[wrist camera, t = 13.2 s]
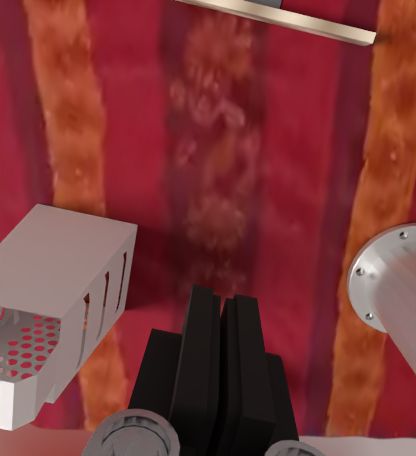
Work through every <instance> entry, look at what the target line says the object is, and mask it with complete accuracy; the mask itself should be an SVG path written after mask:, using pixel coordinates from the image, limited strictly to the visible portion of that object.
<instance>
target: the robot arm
mask: <svg viewBox="0 0 416 456" xmlns="http://www.w3.org/2000/svg"><path fill="white" fill-rule="evenodd" d="M401 232H402V234H400V233H401ZM359 268H360V269H359ZM357 269H359V270H357ZM213 292H214V289H211V288H206V287H201V286H197V285H193V286H192V290H191V294H190V299H189V303H188V307H187V311H186V316H185V320H184V324H183V329H182V333H181V334H176V333H171V332H167V331H162V330H157V329H153V328H152V331H151V334H150V337H149V340H148V343H147V347H146V350H145V353H144V357H143V360H142V363H141V366H140V370H139V373H138V376H137V380H136V383H135V386H134V389H133V393H132V396H131V399H130V403H129V406H128V409H126V410H122V411H119V412H116V413H113V414H112V415H110V416H109V417H107V418H106V419H104V420H103V421H102V422H101V424H100V425H99V426H98V427H97V429H96V430H95V431H94V433H93V435H92V437H91V439H90V440H89V442H88V444H87V445H86V447H85V449H84V450H83V452H82V454H81V456H326V455H325V454H323V453H321V452H320V451H319V450H318V449H316V448H315V447H312V446H310V445H308V444H306V443H304V442H299V437H298V432H297V428H296V423H295V418H294V414H293V409H292V404H291V400H290V395H289V390H288V386H287V381H286V376H285V372H284V367H283V362H282V359H281V357H280V356H279V355H275V354H271V353H266V352H265V347H264V340H263V334H262V328H261V321H260V315H259V309H258V302H257V299H256V298H252V297H247V296H243V295H238V294H235V296H234V298H233V299H230V298H226V300H225V303H224V307H223V311H222V314H221V318H220V302H221V297H220V296H217V295H213ZM347 293H348V297H349V300H350V302H351V304H352V307H353V308H354V310H355V311H356V313H357V315H358V316H359V317H360V318H361V319H362V320H363V321H364V322H365V323H366V324H368V325H369V326H371V327H372V328H374V329H377V330H379V331H381V332H384V333H388V334H389V335H390V337H391V338H392V340H393V341H394V343H395V344H396V346H397V347H398V349H399V350H400V352H401V353H402V355H403V356H404V358H405V359H406V361H407V362H408V364H409V365H410V367H411V368H412V370H413V371H414V373H415V374H416V223H408V224H402V225H398V226H395V227H392V228H389V229H387V230H385V231H383V232H381V233H379V234H378V235H376V236H375V237H373V238H372V239H371V240H369V241H368V242H367V243H366V244H365V245H364V246H363V247H362V248H361V249H360V250H359V252H358V253H357V255H356V256H355V258H354V259H353V261H352V264H351V266H350V268H349V272H348V276H347Z"/></svg>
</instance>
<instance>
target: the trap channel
mask: <svg viewBox="0 0 416 456" xmlns="http://www.w3.org/2000/svg"><path fill="white" fill-rule="evenodd" d="M177 1H181V2H185V3H189V4H193V5H197V6H202V7H206V8H210V9H214V10H218V11H222V12H226V13H230V14H234V15H239V16H243V17H247V18H251V19H255V20H259V21H263V22H267V23H271V24H276V25H280V26H284V27H288V28H292V29H296V30H300V31H304V32H308V33H313V34H317V35H321V36H325V37H329V38H333V39H337V40H341V41H345V42H350V43H354V44H358V45H362V46H367V45H370V44H373V41H374V38H375V35H376V33H375V32H370V31H366V30H362V29H358V28H354V27H350V26H346V25H342V24H338V23H334V22H330V21H326V20H321V19H317V18H313V17H309V16H305V15H301V14H297V13H293V12H289V11H285V10H281V9H280V5H281V1H282V0H177Z"/></svg>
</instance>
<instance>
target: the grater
mask: <svg viewBox="0 0 416 456" xmlns="http://www.w3.org/2000/svg"><path fill="white" fill-rule="evenodd" d="M137 226H138V225H136V224H131V223H127V222H122V221H117V220H112V219H108V218H103V217H98V216H94V215H89V214H84V213H79V212H75V211H70V210H65V209H60V208H56V207H51V206H46V205H41V204H36V206H35V207H34V208H33V209H32V210H31V211H30V212H29V213H28V214H27V215H26V216H25V217H24V218H23V220H22V221H21V222H20V223H19V224H18V225H17V226H16V227H15V228H14V229H13V230H12V231H11V233H10V234H9V235H8V236H7V237H6V238H5V239H4V240H3V241H2V242H1V243H0V317H1V314H2V310H3V307H5V313H4V317H3V318H2V319H1V321H0V356H1V357H3V358H4V360H3V361H2V362H0V367H1V368H3V372H2V373H0V428H1V429H6V430H11V431H12V430H14V429H16V428H18V427H21V426H23V425H25V424H27V423H29V422H31V421H33V420H34V419H35V418H36V416H37V414H38V412H39V411H40V409H41V407H42V406H43V404H44V402H48V403H54V402H55V401H56V399H57V398H58V397H59V395H60V394H61V393H62V391H63V390H64V389H65V387H66V386H67V385H68V384H69V382H70V381H71V380H72V378H73V377H74V376H75V374H76V373H77V372H78V370H79V369H80V368H81V367H82V365H83V364H84V363H85V361H86V360H87V359H88V357H89V356H90V355H91V353H92V352H93V351H94V350H95V348H96V347H97V346H98V344H99V343H100V342H101V340H102V339H103V338H104V336H105V335H106V334H107V333H108V331H109V330H110V329H111V327H112V326H113V325H114V323H115V322H116V321H117V319H118V318H119V317H120V316H121V314H122V313H123V312H124V309H125V302H126V296H127V290H128V283H129V277H130V271H131V264H132V258H133V252H134V245H135V239H136V233H137ZM126 251H127V258H126V265H125V272H124V278H123V285H122V291H121V298H120V303H119V307H118V309H116V308H117V305H118V299H119V292H120V285H121V279H122V272H123V264H124V257H123V254H124V253H125V252H126ZM108 271H109V283H108V291H107V298H106V305H105V307H104V306H103V302H104V294H105V287H106V279H105V274H106V273H107V272H108ZM88 293H89V298H90V302H89V303H85V301H84V299H83V298H84V297H85V296H86V295H87V294H88ZM88 308H89V311H88V312H87V311H86V309H88ZM36 315H40V316H42V317H43V318H42V319H40V320H35V319H34V318H33V317H34V316H36ZM87 315H88V318H87V317H86V316H87ZM46 318H53V319H54V321H52V322H46V321H45V319H46ZM84 318H85V319H87V322H84ZM58 320H61V324H57V323H56V322H57V321H58ZM35 323H42V324H44V326H43V327H40V328H38V327H35V326H34V324H35ZM48 325H53V326H55V329H53V330H48V329H46V326H48ZM83 325H87V327H86V329H83ZM25 327H28V328H30V329H31V331H30V332H22V331H21V329H22V328H25ZM59 328H60V332H59V331H58V329H59ZM35 330H42V331H43V334H40V335H35V334H34V333H33V331H35ZM49 332H53V333H55V334H56V336H54V337H47V336H46V334H47V333H49ZM25 335H30V336H32V337H33V338H32V339H31V340H23V339H22V337H23V336H25ZM59 335H60V337H59V338H58V336H59ZM36 338H44V339H45V341H44V342H43V343H37V342H35V339H36ZM13 340H14V341H18V342H19V344H18V345H16V346H9V345H8V342H9V341H13ZM51 340H55V341H57V342H58V344H57V345H54V346H51V345H48V341H51ZM24 343H29V344H31V345H32V346H31V347H30V348H28V349H23V348H21V345H22V344H24ZM36 346H44V347H45V350H43V351H35V350H34V348H35V347H36ZM51 348H54V350H53V351H52V353H51V354H49V353H48V352H47V350H48V349H51ZM10 350H17V351H19V354H18V355H16V356H10V355H8V352H9V351H10ZM23 353H31V354H32V357H31V358H28V359H24V358H22V357H21V355H22V354H23ZM39 355H43V356H46V360H45V361H36V360H35V358H36V357H37V356H39ZM9 359H16V360H17V361H18V362H17V364H15V365H7V364H6V361H7V360H9ZM23 362H30V363H32V366H31V367H30V368H22V367H21V366H20V365H21V363H23ZM39 364H40V365H43V367H42V368H41V370H40V371H36V370H35V369H34V367H35V366H36V365H39ZM9 370H16V371H17V372H18V374H17V375H16V376H14V377H8V376H6V375H5V374H6V372H7V371H9ZM24 373H31V374H32V375H33V376H32V377H29V378H27V379H24V380H23V379H21V375H22V374H24Z"/></svg>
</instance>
